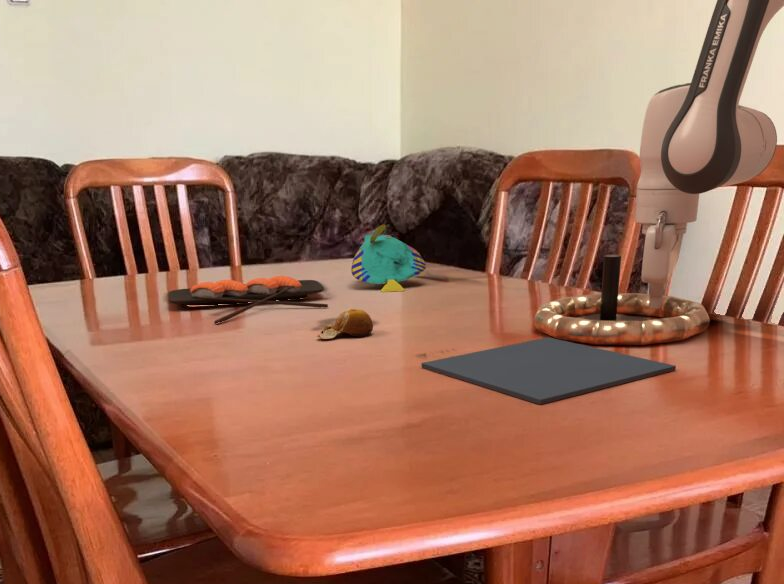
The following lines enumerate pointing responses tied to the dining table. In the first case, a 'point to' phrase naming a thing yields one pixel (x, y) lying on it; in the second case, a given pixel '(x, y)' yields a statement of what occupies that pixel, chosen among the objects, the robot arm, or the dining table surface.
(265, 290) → the sushi plate
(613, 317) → the post
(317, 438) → the dining table surface
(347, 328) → the fruit
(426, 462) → the dining table surface
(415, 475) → the dining table surface
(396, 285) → the decorative fish
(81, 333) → the dining table surface
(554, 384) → the mat
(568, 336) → the ring
